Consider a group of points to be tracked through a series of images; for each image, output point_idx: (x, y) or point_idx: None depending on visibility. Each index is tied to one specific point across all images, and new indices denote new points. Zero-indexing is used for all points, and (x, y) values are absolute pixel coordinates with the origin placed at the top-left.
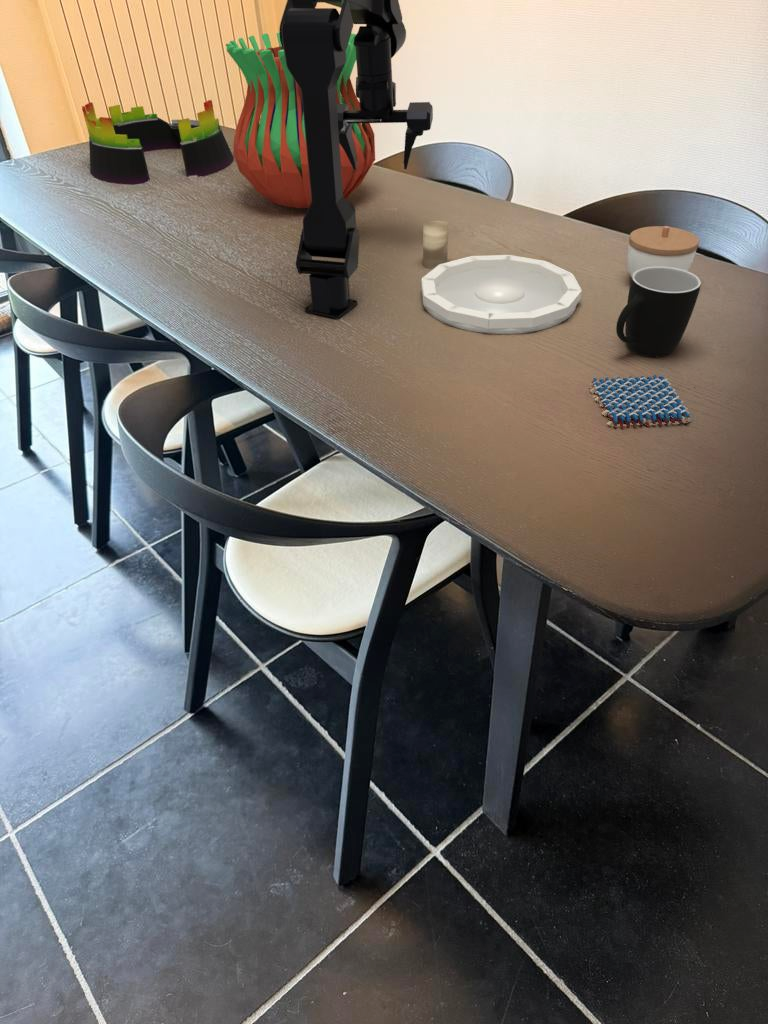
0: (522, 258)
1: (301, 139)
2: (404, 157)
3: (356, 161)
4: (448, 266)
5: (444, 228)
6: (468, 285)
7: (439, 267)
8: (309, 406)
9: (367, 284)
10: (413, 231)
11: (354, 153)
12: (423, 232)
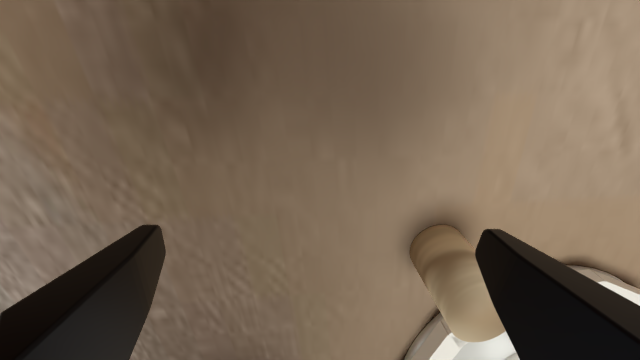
0: (623, 296)
1: None
2: (516, 349)
3: (144, 250)
4: (465, 341)
5: (501, 332)
6: (484, 358)
7: (446, 346)
8: None
9: (296, 342)
10: (399, 10)
11: (109, 320)
12: (441, 311)
